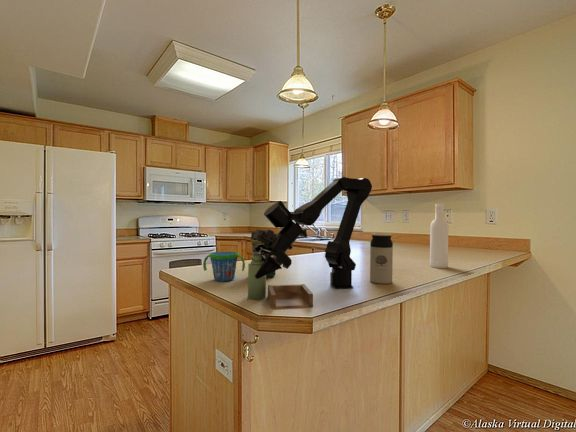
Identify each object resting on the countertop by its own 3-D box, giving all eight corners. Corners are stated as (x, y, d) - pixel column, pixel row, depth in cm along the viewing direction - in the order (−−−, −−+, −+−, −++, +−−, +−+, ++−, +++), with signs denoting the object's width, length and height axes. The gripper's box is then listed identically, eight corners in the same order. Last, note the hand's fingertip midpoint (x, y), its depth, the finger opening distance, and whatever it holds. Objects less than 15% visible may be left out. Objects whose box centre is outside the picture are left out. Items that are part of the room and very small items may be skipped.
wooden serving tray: (304, 295, 97) (304, 284, 97) (313, 307, 85) (313, 293, 85) (267, 297, 95) (267, 285, 95) (271, 308, 84) (271, 295, 84)
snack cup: (198, 281, 115) (198, 254, 115) (210, 276, 125) (210, 250, 125) (239, 283, 112) (239, 255, 112) (248, 277, 123) (248, 251, 123)
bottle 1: (264, 294, 98) (265, 251, 98) (266, 299, 93) (267, 254, 93) (247, 295, 97) (248, 251, 97) (248, 299, 92) (249, 254, 92)
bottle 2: (425, 265, 152) (426, 204, 151) (437, 264, 155) (438, 204, 155) (440, 268, 144) (441, 203, 144) (451, 267, 148) (452, 204, 147)
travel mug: (373, 278, 122) (373, 232, 122) (394, 281, 118) (394, 233, 118) (367, 282, 115) (367, 233, 115) (389, 285, 111) (390, 234, 111)
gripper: (258, 219, 105) (225, 254, 100) (282, 221, 88) (244, 263, 83) (279, 242, 108) (248, 276, 103) (306, 247, 92) (271, 289, 87)
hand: (252, 275), depth 94 cm, fingers closed on bottle 1, 5 cm apart
